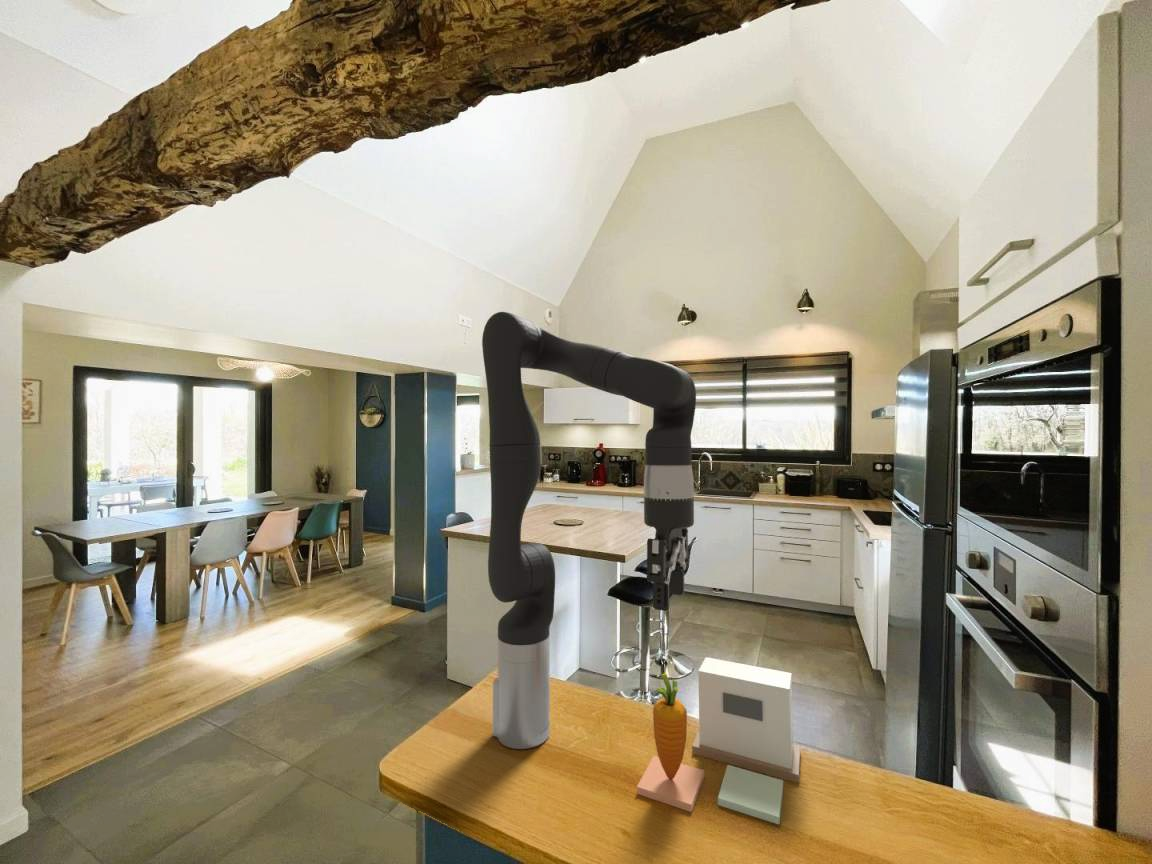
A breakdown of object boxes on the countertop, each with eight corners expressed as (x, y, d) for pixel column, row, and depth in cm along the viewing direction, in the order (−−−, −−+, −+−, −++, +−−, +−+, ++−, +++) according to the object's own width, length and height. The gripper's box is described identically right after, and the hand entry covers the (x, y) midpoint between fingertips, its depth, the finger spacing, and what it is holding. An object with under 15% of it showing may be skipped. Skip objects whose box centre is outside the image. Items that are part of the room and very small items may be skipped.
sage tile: (717, 805, 67) (717, 797, 67) (727, 771, 74) (727, 764, 74) (779, 824, 64) (779, 817, 64) (783, 787, 71) (783, 780, 71)
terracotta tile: (637, 793, 70) (636, 786, 70) (653, 762, 77) (653, 755, 77) (691, 812, 66) (691, 804, 66) (704, 777, 73) (704, 770, 73)
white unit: (692, 753, 79) (691, 672, 79) (702, 728, 86) (701, 653, 87) (798, 783, 72) (796, 693, 72) (800, 753, 79) (798, 671, 79)
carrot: (688, 793, 68) (687, 687, 69) (653, 789, 69) (652, 684, 70) (686, 769, 73) (685, 671, 74) (654, 766, 74) (652, 668, 74)
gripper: (680, 499, 65) (682, 620, 65) (703, 492, 78) (704, 592, 77) (629, 497, 69) (629, 611, 68) (658, 490, 81) (659, 586, 81)
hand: (669, 601), depth 73 cm, fingers open, 8 cm apart
